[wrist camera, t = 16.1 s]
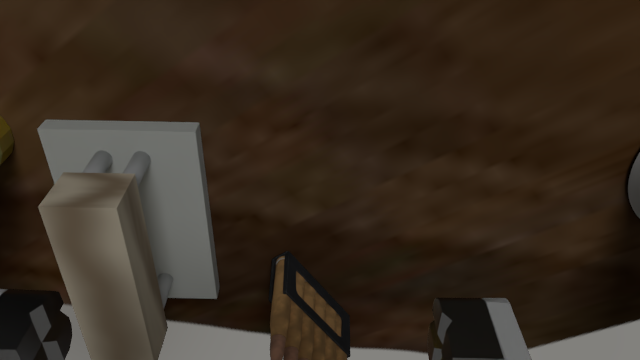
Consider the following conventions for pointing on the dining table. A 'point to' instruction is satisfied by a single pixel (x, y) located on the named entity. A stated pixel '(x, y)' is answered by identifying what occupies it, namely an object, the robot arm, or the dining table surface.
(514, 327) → the robot arm
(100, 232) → the tan bar
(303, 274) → the ammunition clip
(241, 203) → the dining table surface
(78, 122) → the peg stand
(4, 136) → the book
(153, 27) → the dining table surface
